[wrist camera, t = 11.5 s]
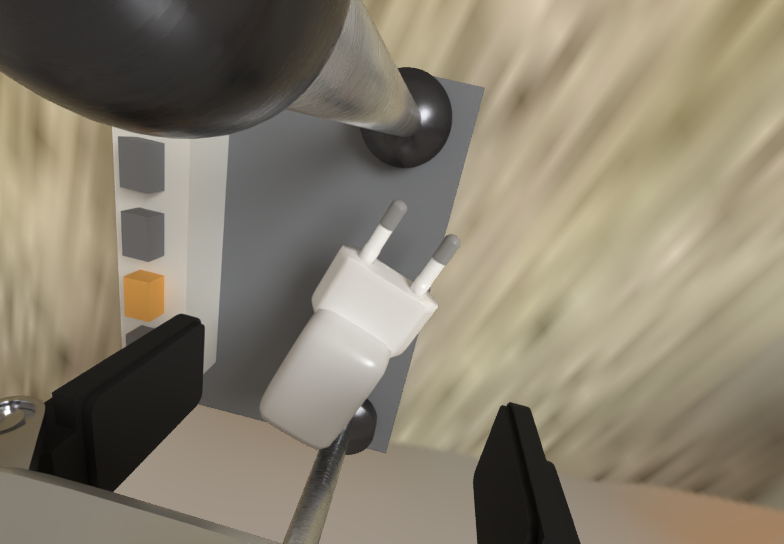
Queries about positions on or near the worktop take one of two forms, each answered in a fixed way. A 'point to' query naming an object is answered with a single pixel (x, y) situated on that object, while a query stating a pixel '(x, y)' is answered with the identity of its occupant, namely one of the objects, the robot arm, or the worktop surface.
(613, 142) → the worktop surface
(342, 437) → the cord post
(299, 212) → the mat
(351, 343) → the power adapter
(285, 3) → the cord post
